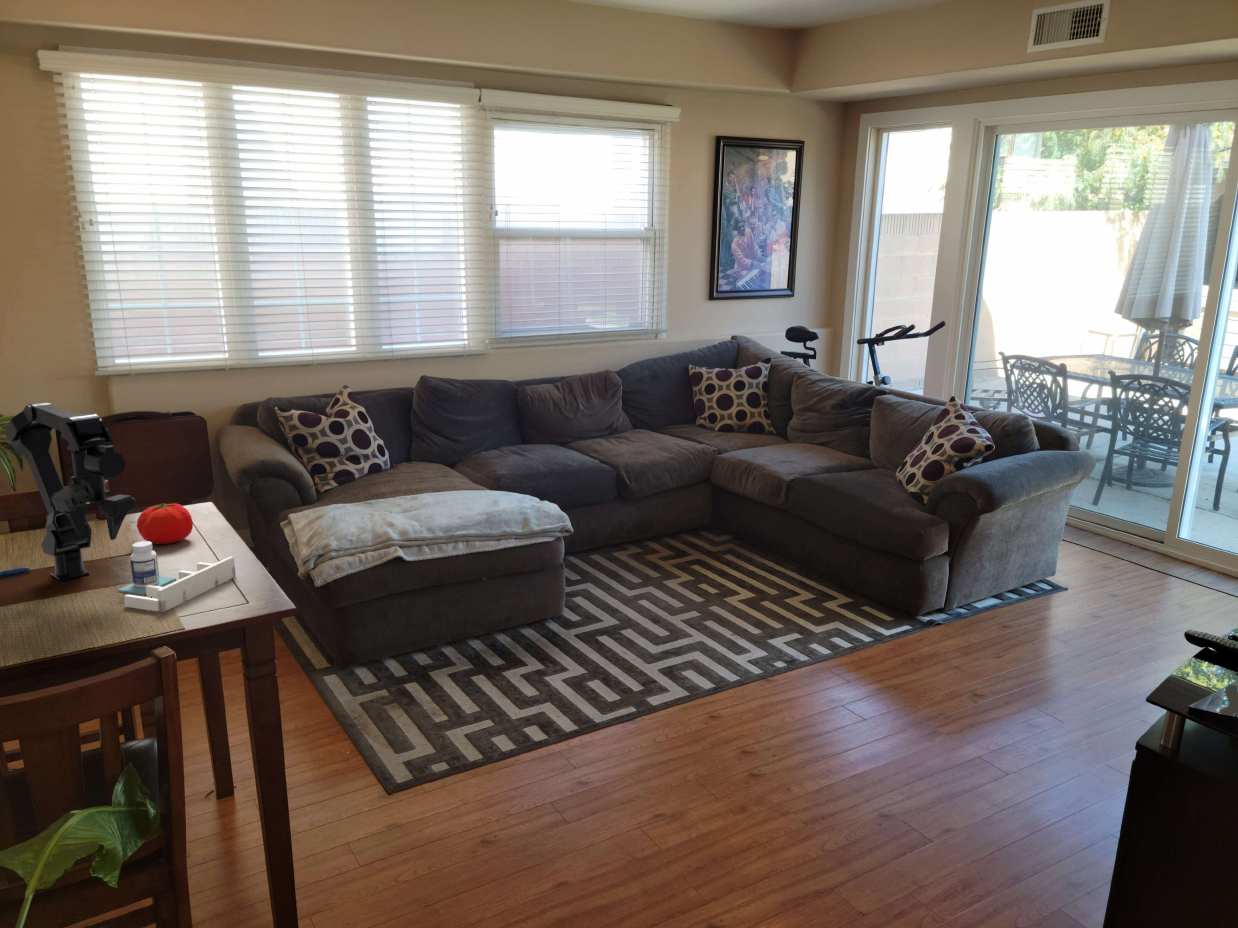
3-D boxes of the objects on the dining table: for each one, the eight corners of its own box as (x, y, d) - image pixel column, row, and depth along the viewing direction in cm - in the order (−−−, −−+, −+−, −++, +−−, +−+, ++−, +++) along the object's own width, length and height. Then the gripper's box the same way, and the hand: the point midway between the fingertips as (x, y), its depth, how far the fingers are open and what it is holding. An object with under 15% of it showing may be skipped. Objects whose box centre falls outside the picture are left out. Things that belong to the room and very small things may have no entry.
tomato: (190, 532, 247) (186, 495, 244) (198, 544, 237) (194, 506, 234) (135, 540, 239) (131, 502, 237) (141, 553, 229) (137, 513, 227)
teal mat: (118, 591, 204) (117, 589, 204) (151, 576, 213) (151, 574, 213) (143, 595, 202) (143, 593, 202) (176, 580, 211) (175, 578, 211)
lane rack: (125, 606, 195) (122, 585, 194) (200, 571, 217) (199, 552, 216) (162, 612, 193) (160, 590, 192) (235, 576, 214) (233, 556, 213)
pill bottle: (139, 579, 210) (135, 540, 208) (163, 579, 210) (159, 539, 208) (129, 588, 205) (124, 547, 202) (153, 587, 205) (149, 547, 203)
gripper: (23, 475, 195) (33, 543, 199) (92, 483, 190) (100, 552, 194) (67, 464, 205) (75, 529, 209) (133, 471, 200) (140, 537, 204)
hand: (96, 537), depth 204 cm, fingers open, 9 cm apart
